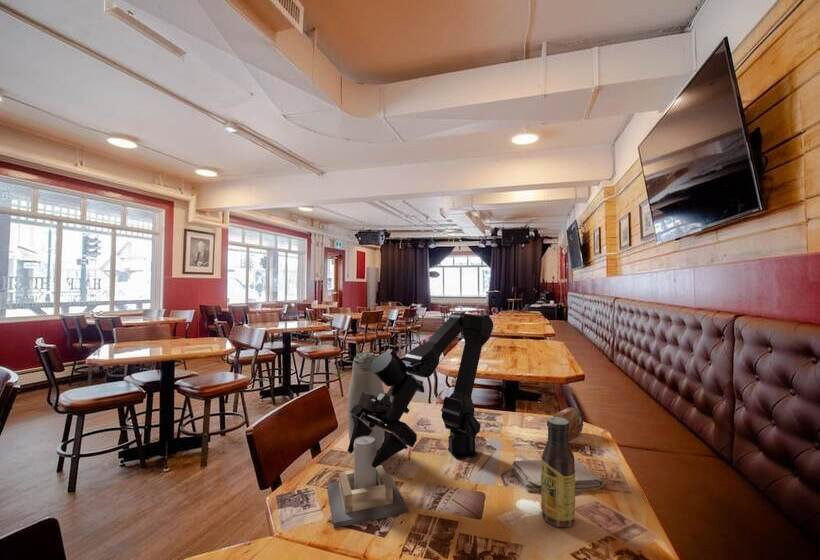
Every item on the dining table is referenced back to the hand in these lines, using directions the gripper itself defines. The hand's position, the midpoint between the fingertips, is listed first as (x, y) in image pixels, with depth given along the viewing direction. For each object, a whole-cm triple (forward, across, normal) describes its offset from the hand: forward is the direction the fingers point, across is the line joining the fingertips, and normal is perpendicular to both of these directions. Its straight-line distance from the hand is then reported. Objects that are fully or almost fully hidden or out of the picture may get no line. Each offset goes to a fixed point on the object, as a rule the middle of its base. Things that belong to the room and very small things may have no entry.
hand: (360, 459), depth 81 cm
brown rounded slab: (-39, +15, +52) cm, 67 cm away
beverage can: (+5, 0, +7) cm, 8 cm away
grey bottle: (-4, -19, +17) cm, 26 cm away
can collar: (+6, 0, +7) cm, 9 cm away
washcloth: (-21, +24, +35) cm, 47 cm away
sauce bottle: (-11, +32, +24) cm, 42 cm away
